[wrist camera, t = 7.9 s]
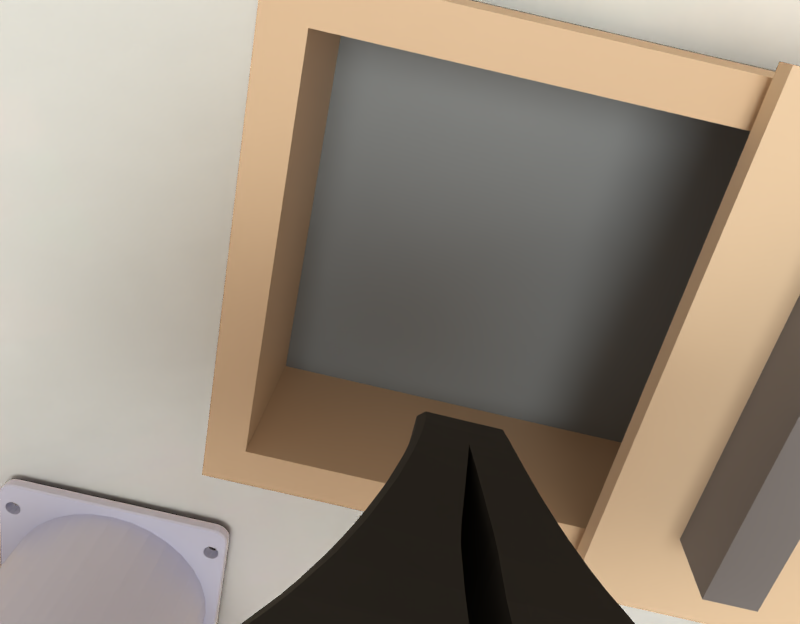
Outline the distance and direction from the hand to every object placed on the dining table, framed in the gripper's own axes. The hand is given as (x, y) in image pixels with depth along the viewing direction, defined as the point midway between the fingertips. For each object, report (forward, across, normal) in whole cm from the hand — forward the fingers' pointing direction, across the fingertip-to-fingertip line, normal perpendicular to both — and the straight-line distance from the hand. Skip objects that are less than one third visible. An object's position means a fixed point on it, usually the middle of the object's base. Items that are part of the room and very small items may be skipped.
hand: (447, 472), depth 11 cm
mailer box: (+10, -3, 0) cm, 11 cm away
